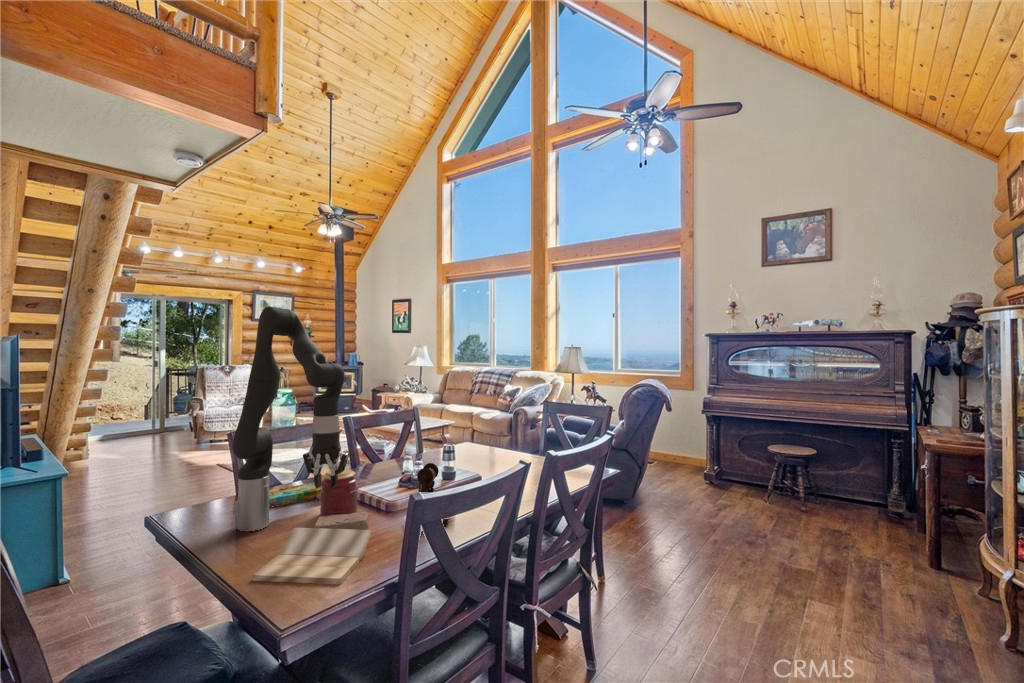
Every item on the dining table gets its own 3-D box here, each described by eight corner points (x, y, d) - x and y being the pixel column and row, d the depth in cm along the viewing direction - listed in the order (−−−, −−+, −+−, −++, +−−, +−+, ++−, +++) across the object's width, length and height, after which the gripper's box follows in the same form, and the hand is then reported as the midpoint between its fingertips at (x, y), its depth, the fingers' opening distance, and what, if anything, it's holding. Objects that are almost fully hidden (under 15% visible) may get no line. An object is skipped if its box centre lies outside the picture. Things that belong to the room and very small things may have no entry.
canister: (362, 514, 170) (362, 466, 170) (324, 522, 163) (324, 471, 163) (352, 504, 181) (352, 458, 181) (316, 511, 174) (316, 463, 174)
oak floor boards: (252, 580, 123) (252, 574, 123) (278, 559, 135) (278, 554, 135) (340, 584, 121) (340, 578, 121) (359, 562, 133) (359, 557, 133)
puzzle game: (262, 489, 185) (315, 480, 198) (262, 501, 185) (315, 491, 198) (268, 497, 176) (323, 487, 189) (268, 509, 176) (323, 498, 189)
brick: (313, 538, 150) (313, 524, 150) (317, 528, 158) (317, 514, 158) (367, 533, 154) (367, 519, 154) (368, 524, 163) (368, 510, 163)
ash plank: (280, 557, 136) (279, 553, 136) (295, 530, 144) (294, 527, 143) (360, 560, 134) (359, 556, 134) (371, 533, 142) (370, 530, 141)
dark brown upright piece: (413, 514, 170) (413, 459, 170) (453, 516, 169) (453, 460, 169) (400, 531, 156) (400, 470, 156) (443, 532, 154) (443, 472, 154)
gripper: (296, 432, 138) (296, 490, 138) (343, 432, 136) (343, 491, 136) (309, 427, 145) (309, 482, 145) (354, 428, 144) (354, 483, 144)
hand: (326, 486), depth 141 cm, fingers open, 4 cm apart
